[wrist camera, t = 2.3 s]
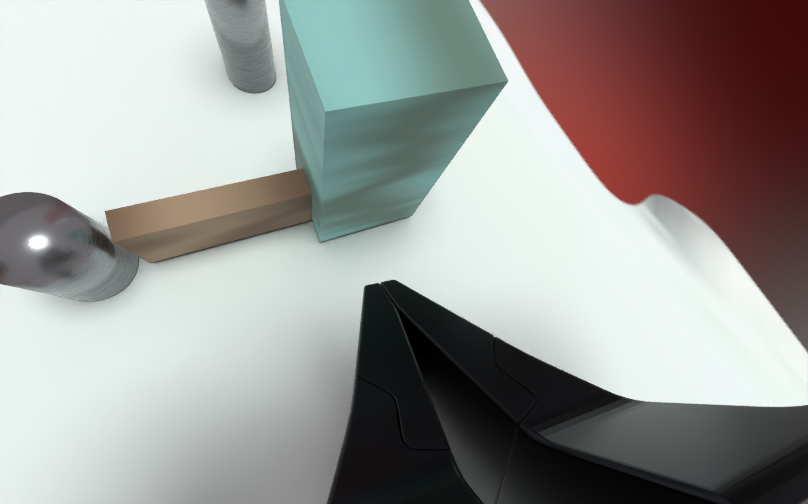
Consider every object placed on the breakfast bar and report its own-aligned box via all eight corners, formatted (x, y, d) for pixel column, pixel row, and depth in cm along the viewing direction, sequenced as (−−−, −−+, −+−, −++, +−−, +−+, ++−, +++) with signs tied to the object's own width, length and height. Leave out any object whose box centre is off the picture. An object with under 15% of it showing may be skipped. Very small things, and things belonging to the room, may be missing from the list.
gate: (157, 289, 14) (-113, 185, 5) (138, 212, 15) (-134, 1, 6) (411, 215, 18) (508, 80, 9) (388, 156, 19) (456, -25, 10)
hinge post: (154, 264, 15) (101, 236, 11) (89, 316, 14) (5, 304, 10) (104, 218, 15) (33, 174, 11) (34, 267, 14) (-69, 236, 10)
